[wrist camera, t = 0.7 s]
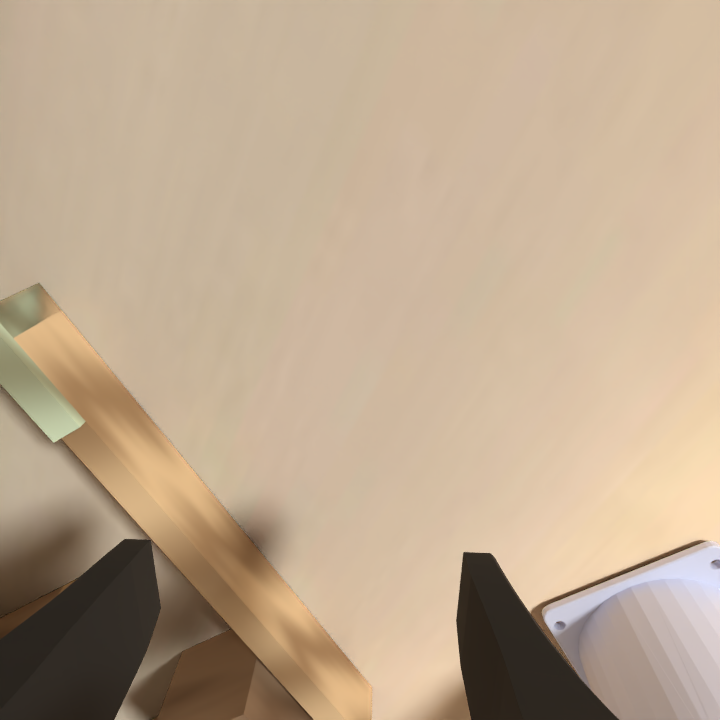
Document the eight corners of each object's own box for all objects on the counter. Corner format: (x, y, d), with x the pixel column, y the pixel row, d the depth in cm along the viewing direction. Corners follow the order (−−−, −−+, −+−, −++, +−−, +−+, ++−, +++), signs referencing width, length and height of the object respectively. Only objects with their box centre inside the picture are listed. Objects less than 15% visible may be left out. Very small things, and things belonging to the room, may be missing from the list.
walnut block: (325, 678, 28) (314, 787, 24) (243, 712, 29) (217, 822, 25) (267, 611, 27) (243, 714, 22) (183, 649, 28) (143, 754, 23)
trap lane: (372, 687, 28) (371, 758, 25) (134, 781, 32) (107, 854, 28) (38, 282, 21) (-22, 311, 18) (-224, 462, 24) (-314, 512, 21)
